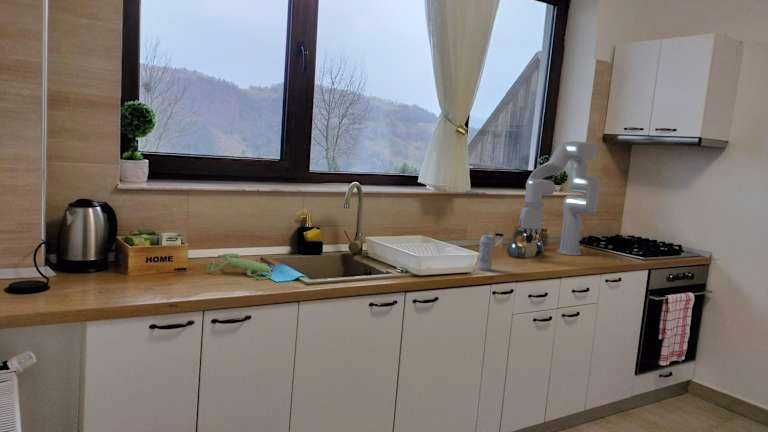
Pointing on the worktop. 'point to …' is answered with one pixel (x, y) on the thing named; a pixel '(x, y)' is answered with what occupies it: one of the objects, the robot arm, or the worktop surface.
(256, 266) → the figurine
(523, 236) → the lever
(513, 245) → the valve
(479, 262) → the energy drink can
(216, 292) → the worktop surface
